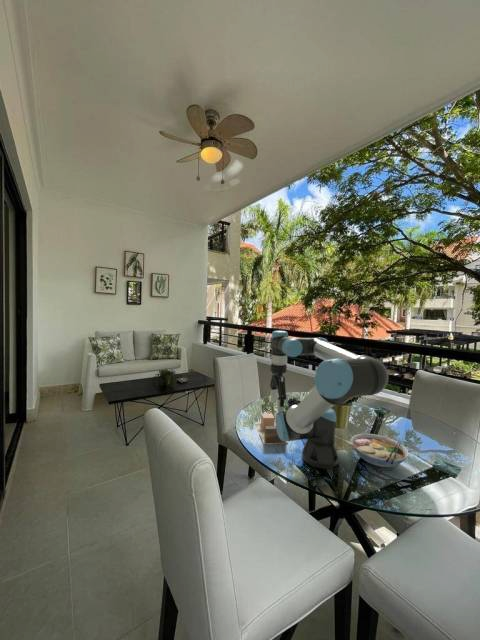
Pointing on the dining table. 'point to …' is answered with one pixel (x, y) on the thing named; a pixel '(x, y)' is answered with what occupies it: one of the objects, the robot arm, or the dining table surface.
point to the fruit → (292, 402)
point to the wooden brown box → (269, 434)
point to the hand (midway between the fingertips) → (276, 407)
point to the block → (267, 420)
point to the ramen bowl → (379, 450)
